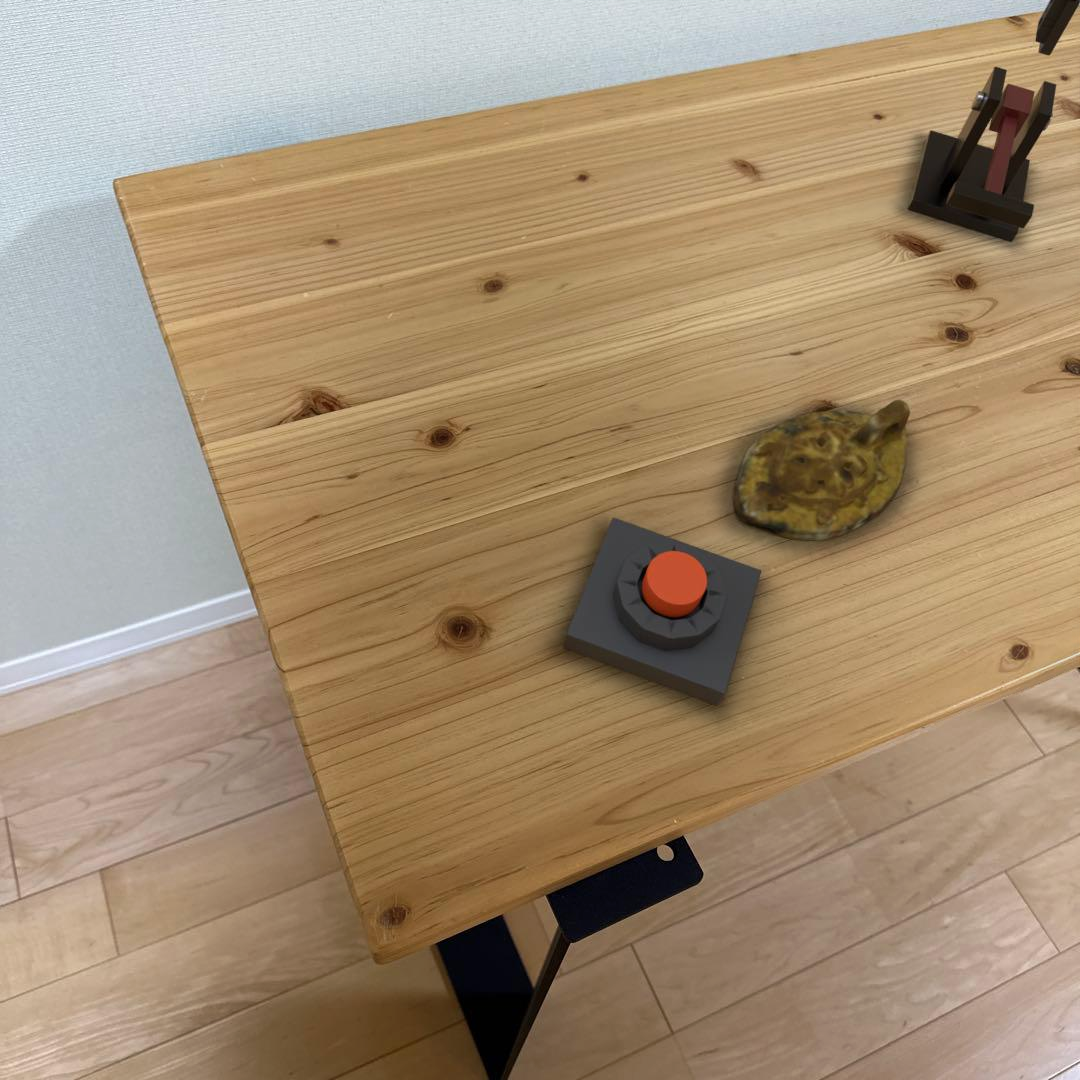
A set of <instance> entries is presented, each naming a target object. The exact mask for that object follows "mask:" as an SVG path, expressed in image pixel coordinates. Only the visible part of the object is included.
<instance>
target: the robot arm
mask: <svg viewBox="0 0 1080 1080" xmlns="http://www.w3.org/2000/svg"><path fill="white" fill-rule="evenodd" d="M1079 5H1080V0H1049V1H1048V3H1047V4H1046V7H1045V9H1044V10H1043V13H1042V14H1041V16H1040V18H1039V20H1038V22H1037V28H1036V32H1035V42H1036V43H1038V44H1039V46H1038V51H1037V52H1038V54H1041V55H1045V56H1048V57H1049V56H1051V54H1052V53H1053V51H1054V50H1055V47H1056V46H1057V44H1058V42H1059V41H1060V39H1061V37H1062V35H1063V34H1064V32H1065V30H1066V29H1067V27H1068V25H1069V23H1070V21H1071V19H1072V18H1073V16H1074V14H1075V13H1076V11H1077V9H1078V7H1079ZM1035 42H1034V43H1035Z"/></svg>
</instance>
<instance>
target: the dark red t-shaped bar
mask: <svg viewBox="0 0 1080 1080" xmlns="http://www.w3.org/2000/svg"><path fill="white" fill-rule="evenodd" d="M1035 92H1036V91H1035V90H1031V89H1029V88H1025V87H1022V86H1018V85H1014V84H1012V83H1007V84H1006V85H1005V88H1003V92H1002V97H1001V102H1000V103H999V105H998V107H997V109H996V111H995V113H994V114H993V116H992V118H991V120H990V122H989V125H988V126H989V128H988V130H989V131H991V132H994V133H996V137H995V141H994V146H993V149H994V150H993V154H992V159H991V163H990V167H989V171H988V175H987V180H986V184H985V188H984V189H982V188H978V187H975V186H972V185H969V184H965V183H962V182H959V181H956V182H955V184H954V185H953V187H952V189H951V191H950V193H949V195H948V199H947V203H946V204H947V205H949V206H952V207H955V208H958V209H962V210H965V211H968V212H971V213H975V214H978V215H981V216H984V217H987V218H991V219H994V220H997V221H1000V222H1004V223H1007V224H1010V225H1013V226H1017V227H1019V228H1020V229H1024V228H1025V227H1026V226H1027V224H1028V223H1029V222H1030V220H1031V219H1032V217H1033V213H1034V209H1035V204H1034V203H1031V202H1027V201H1024V200H1023V201H1021V200H1017V199H1014V198H1011V197H1008V196H1004V195H1002V191H1003V186H1004V182H1005V177H1006V173H1007V169H1008V164H1009V160H1010V155H1011V151H1012V146H1013V142H1014V138H1015V137H1016V136H1017V134H1018V133H1019V131H1020V129H1021V128H1022V126H1023V124H1024V123H1025V121H1026V119H1027V118H1028V116H1029V114H1030V111H1031V106H1032V102H1033V100H1034V98H1035Z"/></svg>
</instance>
